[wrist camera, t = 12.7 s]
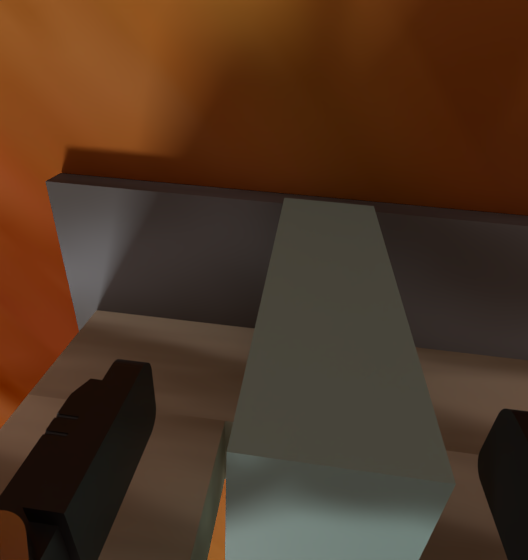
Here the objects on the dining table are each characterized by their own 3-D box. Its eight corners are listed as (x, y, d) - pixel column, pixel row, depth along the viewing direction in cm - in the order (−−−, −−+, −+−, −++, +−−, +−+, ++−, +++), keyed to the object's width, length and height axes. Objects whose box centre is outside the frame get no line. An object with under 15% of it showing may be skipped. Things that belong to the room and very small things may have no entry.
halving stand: (485, 474, 21) (611, 818, 12) (111, 423, 23) (-34, 694, 14) (619, 224, 14) (1197, 599, 5) (60, 173, 16) (-328, 383, 6)
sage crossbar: (321, 466, 21) (320, 760, 13) (262, 458, 21) (223, 741, 13) (374, 205, 14) (455, 484, 5) (284, 197, 14) (226, 452, 6)
